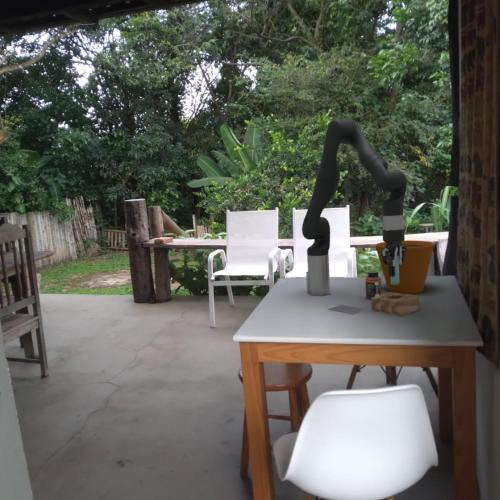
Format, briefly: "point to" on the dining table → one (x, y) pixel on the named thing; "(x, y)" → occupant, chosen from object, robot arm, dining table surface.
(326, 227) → the robot arm
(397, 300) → the hole block
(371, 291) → the supplement bottle
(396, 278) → the peg
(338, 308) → the mat
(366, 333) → the dining table surface
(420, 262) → the flower pot
